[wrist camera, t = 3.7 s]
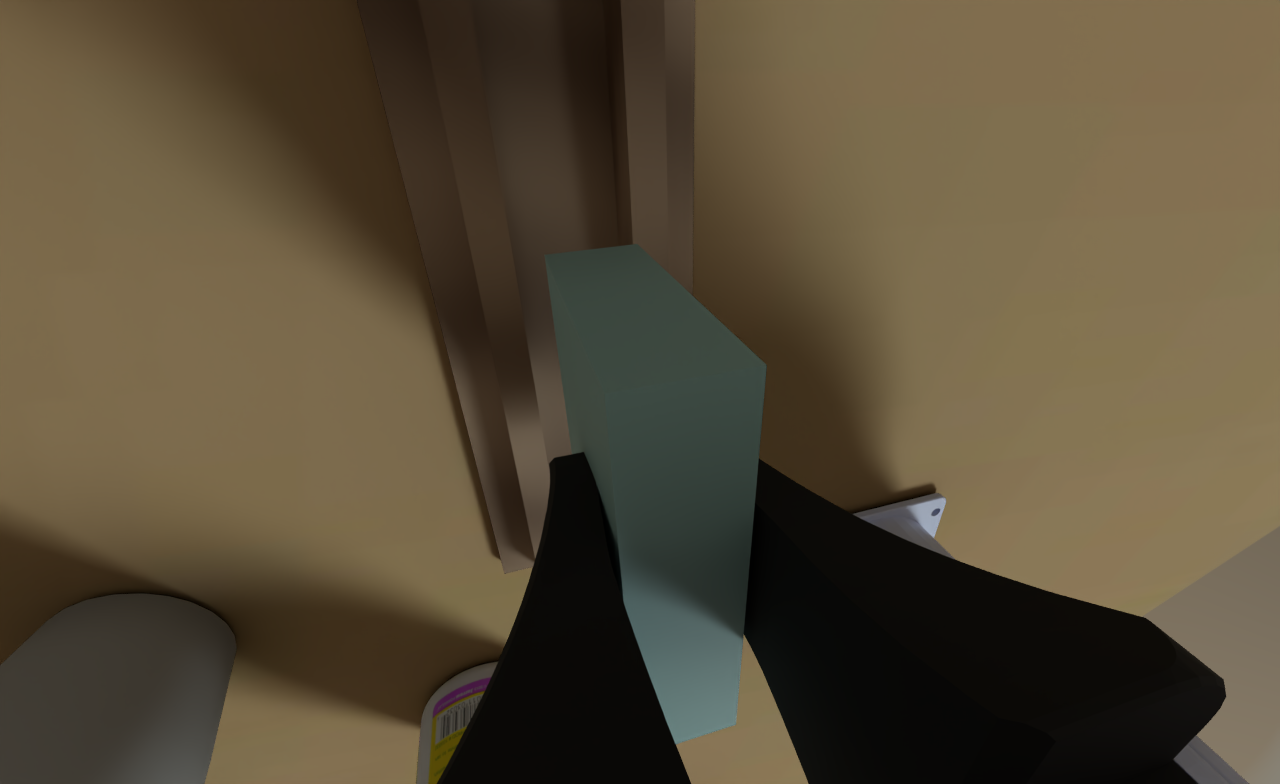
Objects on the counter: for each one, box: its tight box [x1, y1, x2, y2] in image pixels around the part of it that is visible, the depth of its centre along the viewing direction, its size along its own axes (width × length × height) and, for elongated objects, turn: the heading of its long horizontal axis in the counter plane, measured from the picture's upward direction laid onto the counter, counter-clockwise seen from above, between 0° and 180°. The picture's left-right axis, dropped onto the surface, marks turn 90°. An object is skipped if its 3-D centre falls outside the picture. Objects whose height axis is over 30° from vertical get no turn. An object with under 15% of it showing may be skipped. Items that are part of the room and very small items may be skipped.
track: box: [357, 0, 695, 574], centre depth 14 cm, size 21×8×7 cm, turn 2°
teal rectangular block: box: [544, 244, 767, 744], centre depth 11 cm, size 8×2×6 cm, turn 2°
